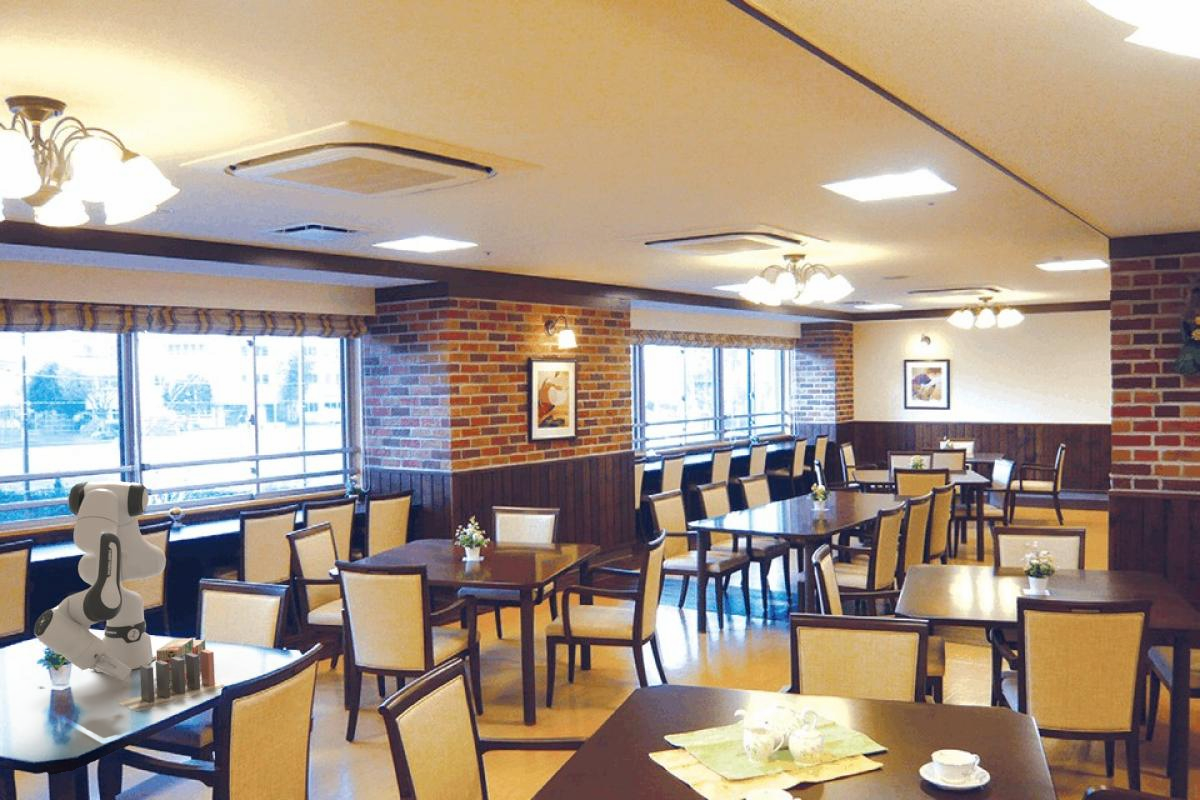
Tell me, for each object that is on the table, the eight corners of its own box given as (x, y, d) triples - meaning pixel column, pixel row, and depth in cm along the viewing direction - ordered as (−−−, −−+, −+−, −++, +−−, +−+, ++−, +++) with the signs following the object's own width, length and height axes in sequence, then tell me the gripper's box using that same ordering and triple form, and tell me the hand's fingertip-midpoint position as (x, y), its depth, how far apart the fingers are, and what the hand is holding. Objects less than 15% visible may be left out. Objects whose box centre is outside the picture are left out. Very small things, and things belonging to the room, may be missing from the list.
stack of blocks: (187, 668, 312) (186, 630, 312) (207, 667, 312) (205, 630, 312) (157, 690, 291) (155, 649, 290) (178, 689, 291) (176, 649, 290)
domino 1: (149, 703, 275) (147, 668, 275) (141, 699, 278) (139, 665, 278) (154, 701, 276) (153, 667, 276) (147, 698, 279) (145, 664, 279)
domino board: (117, 706, 277) (117, 701, 277) (204, 682, 297) (204, 678, 296) (136, 715, 268) (136, 711, 268) (225, 690, 288) (225, 686, 288)
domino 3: (180, 694, 282) (178, 660, 281) (172, 691, 285) (170, 657, 285) (185, 693, 283) (183, 659, 283) (177, 689, 286) (176, 656, 286)
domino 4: (195, 690, 285) (193, 657, 285) (187, 687, 288) (185, 654, 288) (200, 689, 286) (198, 655, 286) (192, 685, 290) (191, 652, 289)
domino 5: (209, 686, 288) (208, 653, 288) (201, 683, 292) (200, 650, 291) (214, 685, 290) (213, 652, 289) (206, 681, 293) (205, 649, 293)
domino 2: (164, 698, 278) (163, 664, 278) (157, 695, 282) (155, 661, 281) (170, 697, 280) (168, 663, 279) (162, 693, 283) (161, 660, 283)
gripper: (112, 649, 260) (150, 675, 268) (82, 637, 273) (119, 662, 281) (95, 669, 257) (134, 695, 264) (66, 656, 270) (104, 681, 278)
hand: (126, 678), depth 273 cm, fingers closed
